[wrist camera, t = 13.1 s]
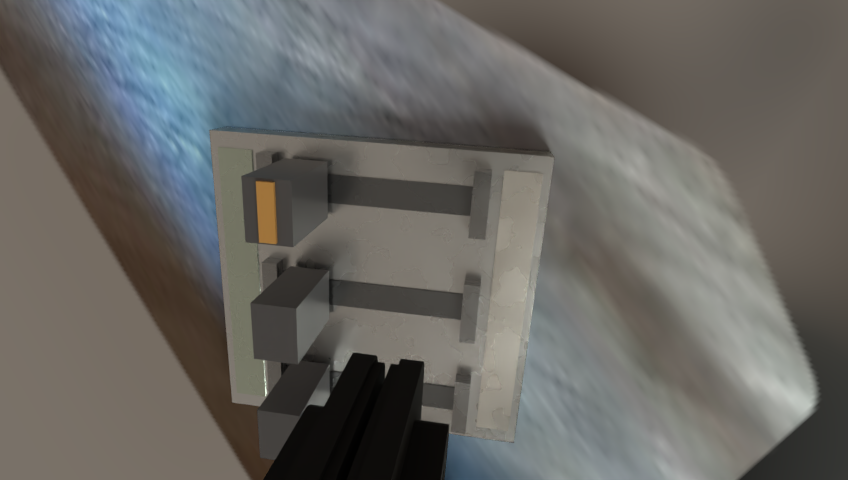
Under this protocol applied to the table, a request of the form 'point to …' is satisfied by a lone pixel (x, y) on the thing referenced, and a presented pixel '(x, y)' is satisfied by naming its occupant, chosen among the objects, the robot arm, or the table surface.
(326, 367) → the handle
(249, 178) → the orange striped slider handle
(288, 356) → the handle middle
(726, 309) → the table surface
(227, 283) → the panel
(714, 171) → the table surface
